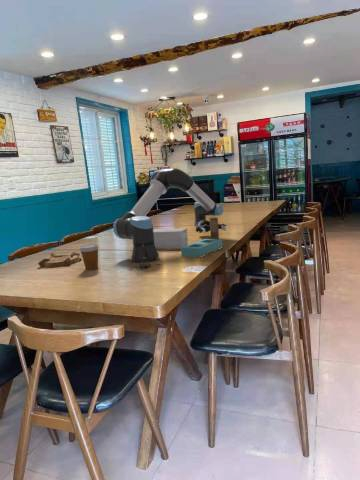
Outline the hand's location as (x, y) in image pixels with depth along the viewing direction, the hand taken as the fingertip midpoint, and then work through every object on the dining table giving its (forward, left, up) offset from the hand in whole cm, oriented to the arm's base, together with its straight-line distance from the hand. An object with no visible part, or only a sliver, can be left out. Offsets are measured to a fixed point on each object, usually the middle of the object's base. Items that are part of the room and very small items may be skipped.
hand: (215, 229), depth 215 cm
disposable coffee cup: (-71, +33, -9) cm, 79 cm away
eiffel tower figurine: (-59, +6, -10) cm, 60 cm away
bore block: (-22, -4, -9) cm, 24 cm away
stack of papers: (-16, +31, -9) cm, 36 cm away
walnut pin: (0, +1, -9) cm, 9 cm away
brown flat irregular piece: (-69, +64, -9) cm, 94 cm away
